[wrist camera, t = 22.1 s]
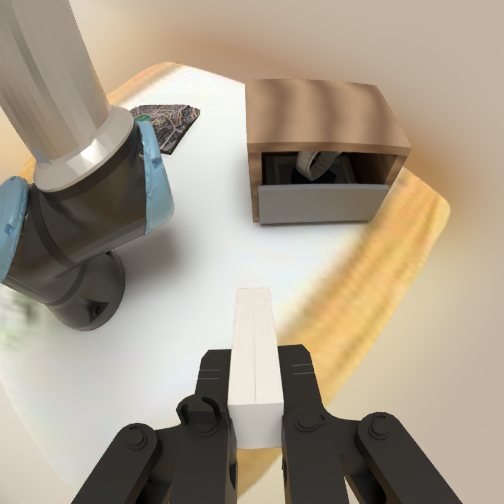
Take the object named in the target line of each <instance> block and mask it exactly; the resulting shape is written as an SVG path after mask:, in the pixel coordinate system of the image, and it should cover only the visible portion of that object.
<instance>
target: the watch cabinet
mask: <svg viewBox="0 0 504 504" xmlns="http://www.w3.org/2000/svg"><path fill="white" fill-rule="evenodd" d="M245 97H246V129H247V150H248V162H249V175H250V187H251V199H252V212H253V222H260V216H259V193H258V186H266V185H267V180H266V168H265V156H286V155H298V154H299V152H300V151H318V153H317V154H316V155H321V153H322V151H339V152H341V154H339V156H348V159H349V162H350V166H351V169H352V172H353V175H354V179H355V182H356V184H377V185H388V186H389V189H390V188H391V186H392V184H393V183H394V181H395V179H396V177H397V175H398V174H399V172H400V170H401V168H402V166H403V164H404V162H405V160H406V158H407V156H408V155H409V153H410V151H411V148H412V147H411V145H410V143H409V141H408V139H407V137H406V135H405V133H404V132H403V130H402V128H401V126H400V124H399V122H398V121H397V119H396V117H395V116H394V114H393V112H392V110H391V109H390V107H389V105H388V103H387V102H386V100H385V99H384V97H383V95H382V94H381V92H380V91H379V89H378V88H377V86H375V85H368V84H359V83H350V82H340V81H325V80H304V79H268V80H266V79H265V80H245ZM309 153H310V152H309ZM313 153H314V152H313ZM388 192H389V191H388ZM384 199H385V198H384ZM377 211H378V210H377ZM374 216H375V215H374Z"/></svg>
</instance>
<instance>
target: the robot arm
mask: <svg viewBox="0 0 504 504" xmlns="http://www.w3.org/2000/svg"><path fill="white" fill-rule="evenodd" d="M0 106H1V108H2V109H3V111H4V112H5V114H6V116H7V117H8V119H9V121H10V122H11V124H12V125H13V127H14V128H15V130H16V131H17V133H18V134H19V136H20V137H21V139H22V140H23V142H24V143H25V145H26V146H27V148H28V149H29V151H30V152H31V154H32V155H33V156H34V158H35V159H36V163H35V169H34V176H33V179H34V183H32V184H28V182H27V180H26V179H25V178H21V177H20V176H13V177H10V178H9V179H7V180H6V181H5V182H3V184H2V185H1V186H0V283H2V284H4V285H5V286H7V287H9V288H11V289H13V290H15V291H17V292H19V293H22V294H24V295H26V296H28V297H30V298H32V299H34V300H36V301H38V302H41V303H43V304H45V305H46V306H47V307H48V308H49V309H50V310H51V311H52V313H53V314H54V315H55V316H56V317H57V318H58V319H59V320H60V321H61V322H62V323H64V324H65V325H67V326H69V327H72V328H75V329H78V330H92V329H95V328H97V327H99V326H101V325H103V324H104V323H105V322H106V321H108V320H109V319H110V318H111V316H112V315H113V314H114V312H115V311H116V309H117V308H118V306H119V304H120V301H121V299H122V295H123V291H124V285H125V275H124V269H123V266H122V263H121V261H120V259H119V257H118V256H117V254H116V253H115V252H114V251H113V250H112V249H115V248H117V247H119V246H121V245H123V244H125V243H127V242H129V241H132V240H134V239H136V238H138V237H140V236H143V235H146V234H148V233H149V231H151V230H153V229H154V228H156V227H158V226H160V225H162V224H164V223H165V222H167V221H168V220H169V219H170V218H171V217H172V215H173V212H174V203H173V198H172V193H171V189H170V185H169V182H168V178H167V174H166V171H165V167H164V164H163V163H162V157H161V154H160V149H159V145H158V142H157V138H156V135H155V132H154V129H153V126H152V124H151V123H150V122H149V121H143V122H142V121H139V122H137V123H135V121H134V119H133V116H132V114H131V113H130V112H129V111H128V110H127V109H125V108H121V107H117V106H112V105H110V104H109V102H108V99H107V97H106V95H105V93H104V91H103V88H102V86H101V84H100V81H99V79H98V76H97V74H96V72H95V69H94V67H93V65H92V62H91V59H90V57H89V55H88V52H87V50H86V47H85V44H84V42H83V39H82V37H81V34H80V31H79V28H78V26H77V23H76V20H75V17H74V15H73V12H72V9H71V6H70V3H69V0H0ZM176 412H177V414H178V416H179V419H180V421H181V424H179V425H177V426H174V427H171V428H165V429H160V430H153V429H152V428H151V427H149V426H148V425H146V424H141V423H134V424H129V425H127V426H125V427H123V428H122V429H121V430H120V431H119V432H118V434H117V435H116V436H115V438H114V439H113V441H112V442H111V444H110V445H109V447H108V448H107V450H106V451H105V453H104V454H103V456H102V457H101V459H100V460H99V462H98V463H97V465H96V466H95V468H94V469H93V471H92V472H91V474H90V475H89V477H88V478H87V480H86V481H85V483H84V484H83V486H82V487H81V489H80V491H79V492H78V494H77V495H76V497H75V498H74V500H73V501H72V503H71V504H168V503H169V504H237V476H238V462H237V458H236V449H260V448H277V447H282V454H283V457H282V470H283V477H284V490H285V503H286V504H349V499H348V494H347V489H346V485H345V480H344V477H345V479H346V480H347V482H348V484H349V486H350V488H351V489H352V491H353V493H354V495H355V496H356V498H357V500H358V502H359V503H360V504H462V502H461V501H460V500H459V498H458V497H457V496H456V494H455V493H454V492H453V490H452V489H451V488H450V486H449V485H448V484H447V482H446V481H445V480H444V478H443V477H442V476H441V475H440V474H439V472H438V471H437V469H436V468H435V467H434V465H433V464H432V463H431V462H430V460H429V459H428V458H427V457H426V455H425V454H424V452H423V451H422V450H421V449H420V447H419V446H418V445H417V443H416V442H415V441H414V439H413V438H412V437H411V436H410V434H409V433H408V432H407V431H406V429H405V428H404V427H403V425H402V424H401V423H400V421H399V420H398V419H397V418H395V417H394V416H393V415H391V414H388V413H386V412H375V413H372V414H369V415H367V416H366V417H364V418H363V419H362V420H361V421H357V420H346V419H340V418H337V417H334V416H332V415H331V414H330V413H328V412H327V411H326V409H325V408H324V406H323V404H322V400H321V396H320V392H319V388H318V384H317V380H316V376H315V373H314V368H313V365H312V360H311V356H310V352H309V351H308V350H307V349H306V348H305V347H304V346H303V345H302V344H299V345H287V346H277V341H276V333H275V325H274V317H273V309H272V302H271V294H270V287H260V288H242V289H237V291H236V303H235V315H234V327H233V339H232V349H223V350H208V351H207V352H206V354H205V355H204V356H203V358H202V359H201V364H200V371H199V374H198V380H197V384H196V390H195V394H193V395H191V396H188V397H186V398H184V399H183V400H182V401H181V402H180V403H179V404H178V406H177V408H176Z"/></svg>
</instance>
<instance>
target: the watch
mask: <svg viewBox="0 0 504 504" xmlns="http://www.w3.org/2000/svg"><path fill="white" fill-rule="evenodd" d="M309 152H310V153H309ZM313 152H314V153H313ZM317 153H318V151H300V152H299V154H298V157H297V162H296V164H295V165H296V168H294V169H293V170H292V176H291V183H292V184H293V185H294V184H334V183H335V180H336V177H337V175H336V174H334V173H333V172H331V171H330V170H329V169H328V168H329V167H330V165H331V164H332V162H333V161H334V159H335V157H336V156H337V157H338V156H339V154H341V152H339V151H322V153H321V155H320V156H319V158H318V160H317V161H316V160H314V159H313V158H314V157H315V155H316V154H317ZM322 156H323V157H322ZM323 159H324V160H323ZM327 162H328V163H327Z"/></svg>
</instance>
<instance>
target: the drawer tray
mask: <svg viewBox="0 0 504 504" xmlns="http://www.w3.org/2000/svg"><path fill="white" fill-rule="evenodd" d="M319 156H320V155H315V157H314V158H313V159H314V160H316V161H317V160H318V158H319ZM297 157H298V155H286V156H265V168H266V180H267V185H266V186H258V193H259V216H260V224H270V223H294V222H322V221H359V220H372V219H373V217H374V215H375V214H376V212H377V210H378V209H379V207H380V205H381V204H382V202H383V200H384V198H385V197H386V195H387V193H388V191H389V190H390V189H389V186H388V185H377V184H356V182H355V179H354V175H353V172H352V169H351V166H350V162H349V159H348V156H338V157H337V156H336V157H335V159H334V161H333V162H332V164H331V165H330V167H329V168H328V169H329V170H330V171H331V172H333V173H334V174H336V175H337V177H336V180H335V183H334V184H294V185H293V184H292V183H291V176H292V170H293V169H294V168H296V165H295V164H296V162H297ZM322 157H323V156H322ZM323 160H324V159H323ZM327 163H328V162H327Z"/></svg>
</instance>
